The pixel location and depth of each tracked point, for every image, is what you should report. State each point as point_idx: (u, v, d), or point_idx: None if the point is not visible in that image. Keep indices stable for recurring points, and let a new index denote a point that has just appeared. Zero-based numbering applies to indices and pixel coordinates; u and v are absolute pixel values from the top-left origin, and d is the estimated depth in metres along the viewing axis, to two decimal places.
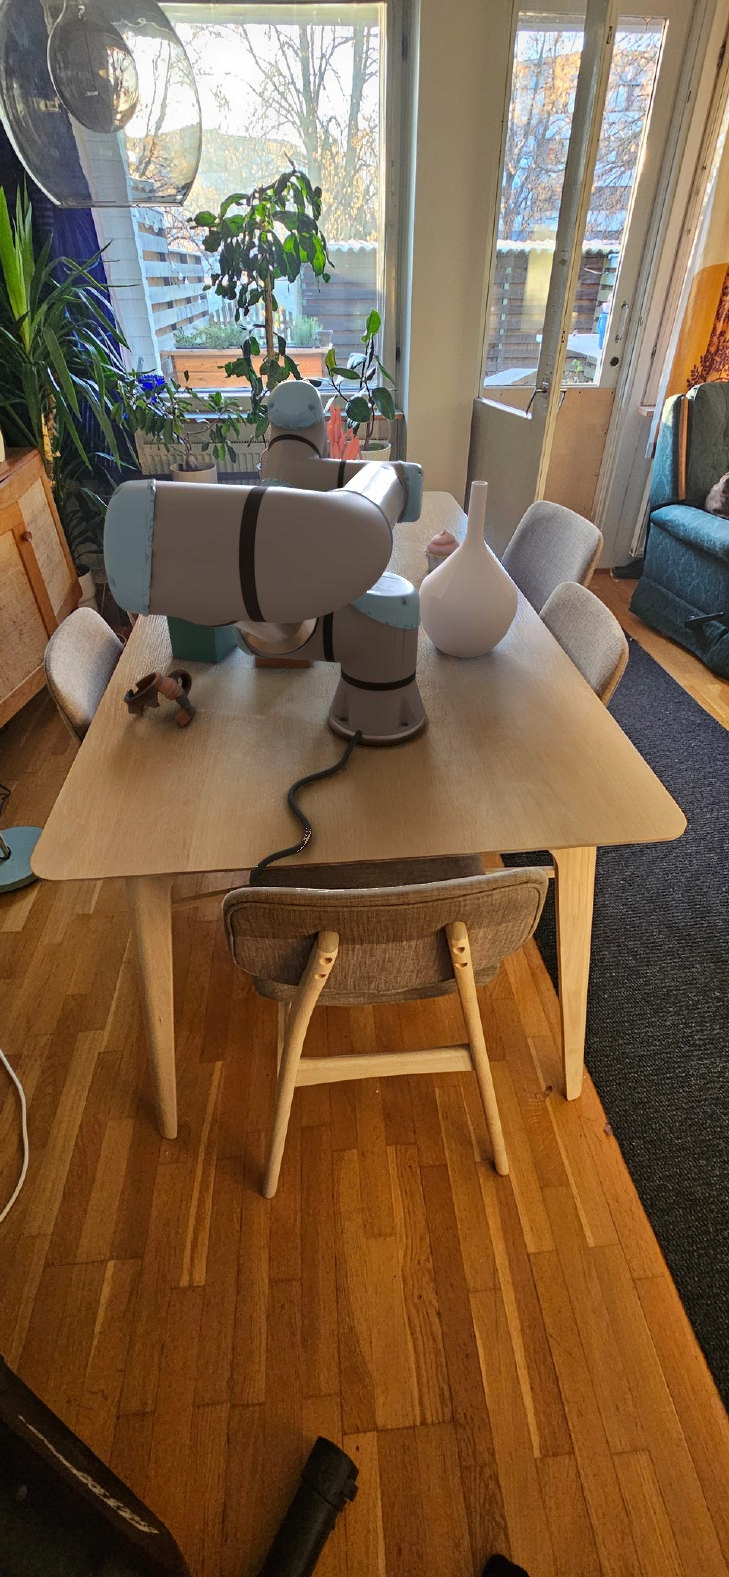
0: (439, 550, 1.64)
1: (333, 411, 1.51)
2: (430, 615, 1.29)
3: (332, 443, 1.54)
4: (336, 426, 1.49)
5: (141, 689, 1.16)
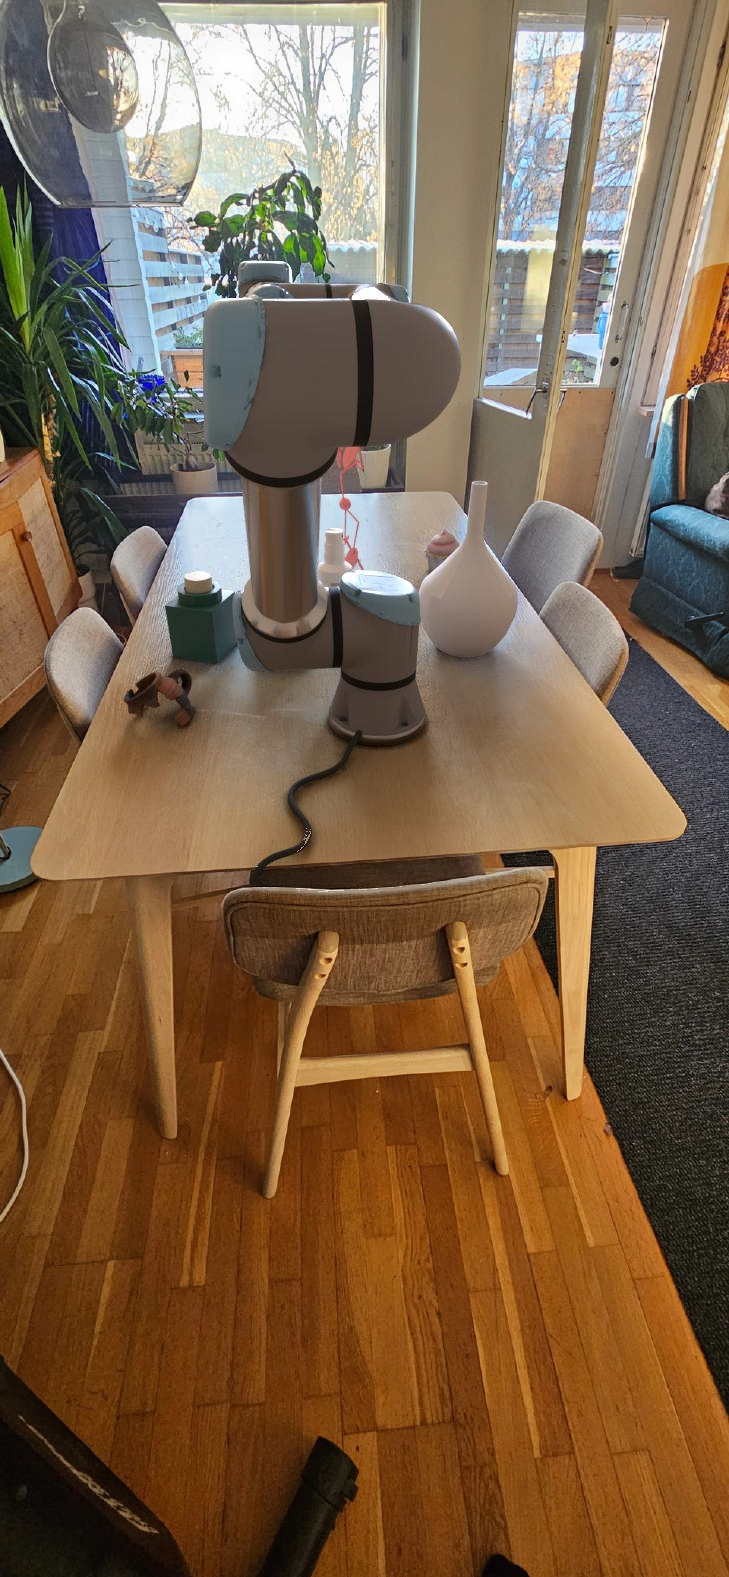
0: (439, 550, 1.64)
1: None
2: (430, 615, 1.29)
3: None
4: None
5: (141, 689, 1.16)
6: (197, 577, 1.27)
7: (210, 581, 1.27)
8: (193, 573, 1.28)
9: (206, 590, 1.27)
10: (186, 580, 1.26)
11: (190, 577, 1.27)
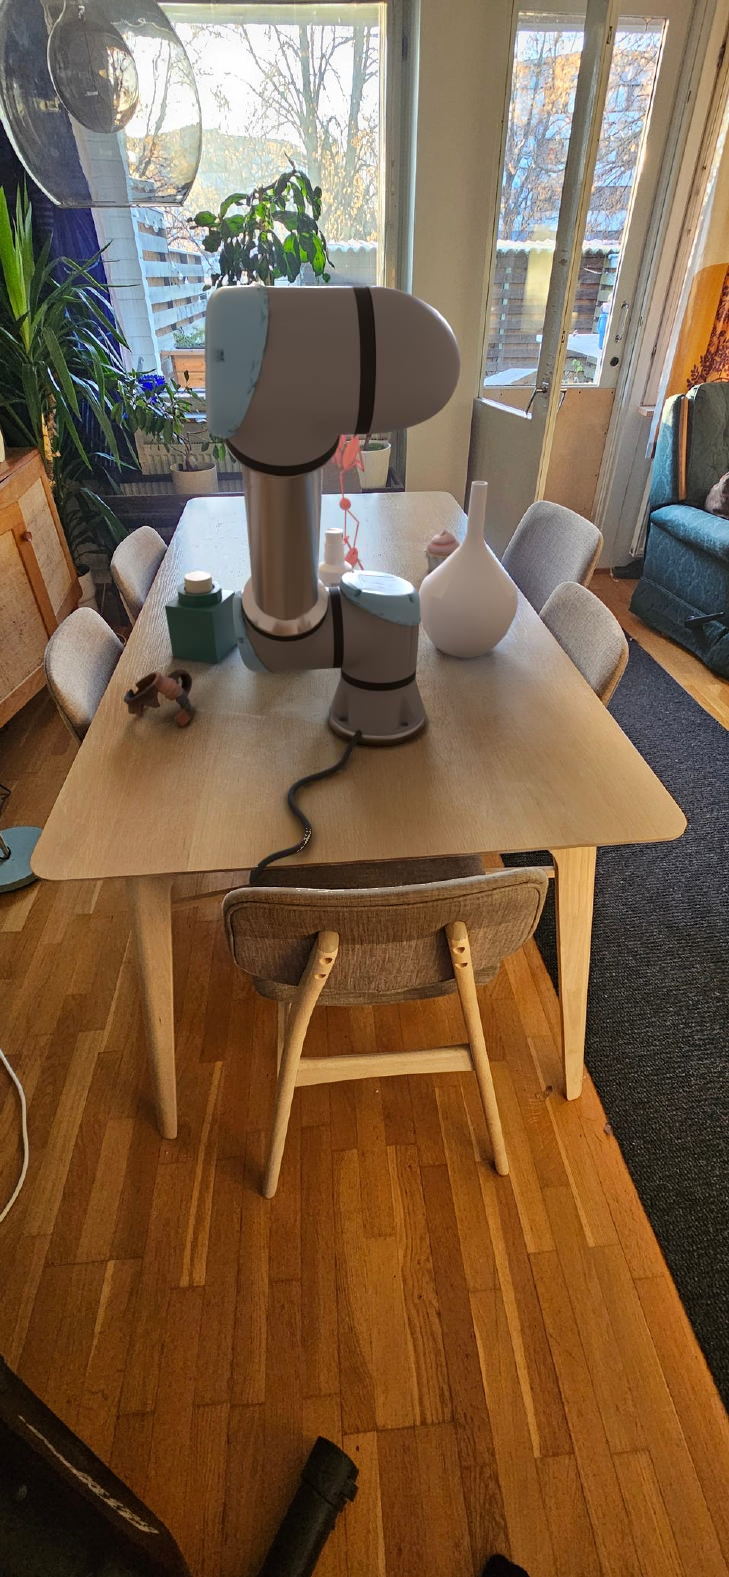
0: (439, 550, 1.64)
1: None
2: (430, 615, 1.29)
3: None
4: None
5: (141, 689, 1.16)
6: (197, 577, 1.27)
7: (210, 581, 1.27)
8: (193, 573, 1.28)
9: (206, 590, 1.27)
10: (186, 580, 1.26)
11: (190, 577, 1.27)
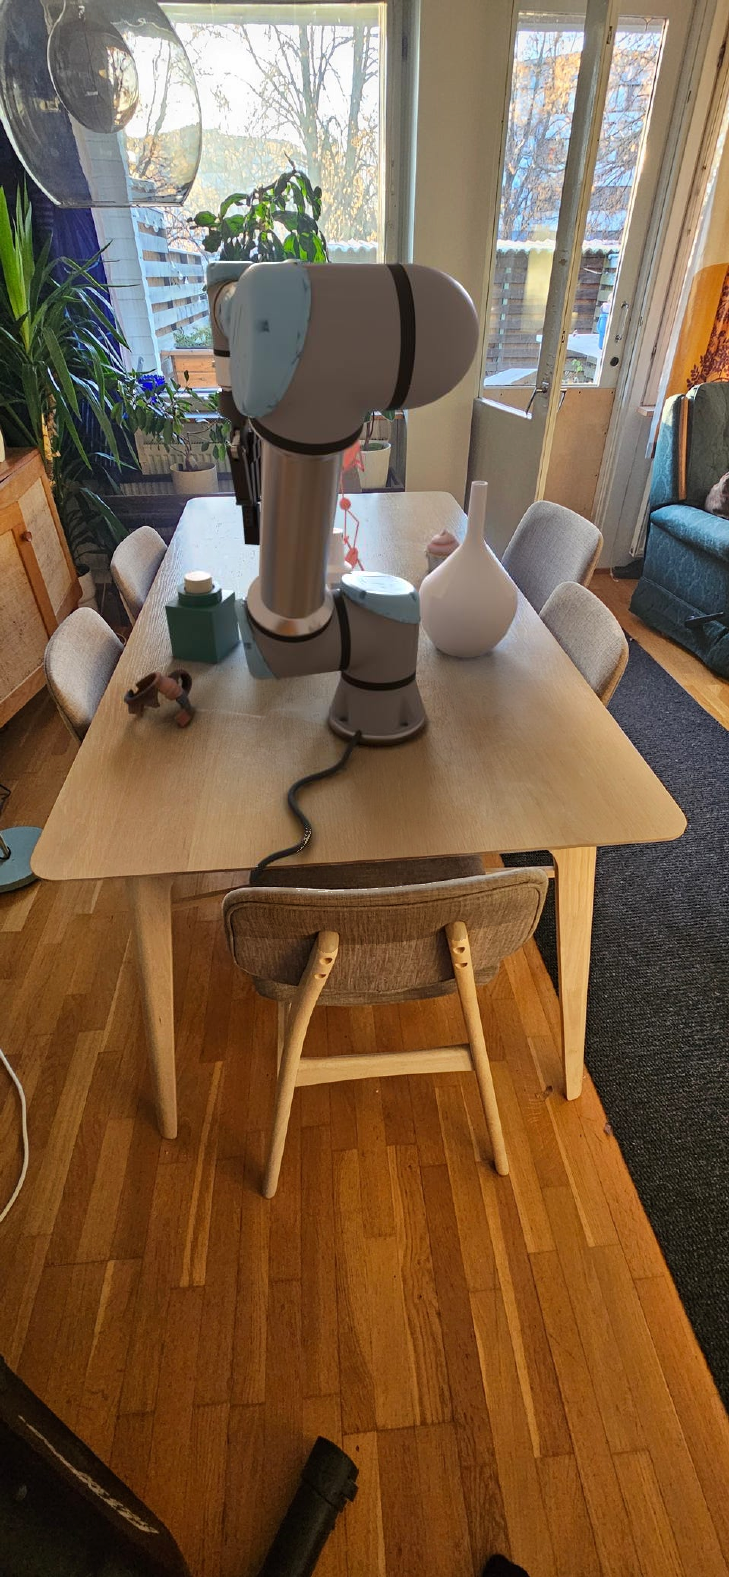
0: (439, 550, 1.64)
1: None
2: (430, 615, 1.29)
3: None
4: None
5: (141, 689, 1.16)
6: (197, 577, 1.27)
7: (210, 581, 1.27)
8: (193, 573, 1.28)
9: (206, 590, 1.27)
10: (186, 580, 1.26)
11: (190, 577, 1.27)
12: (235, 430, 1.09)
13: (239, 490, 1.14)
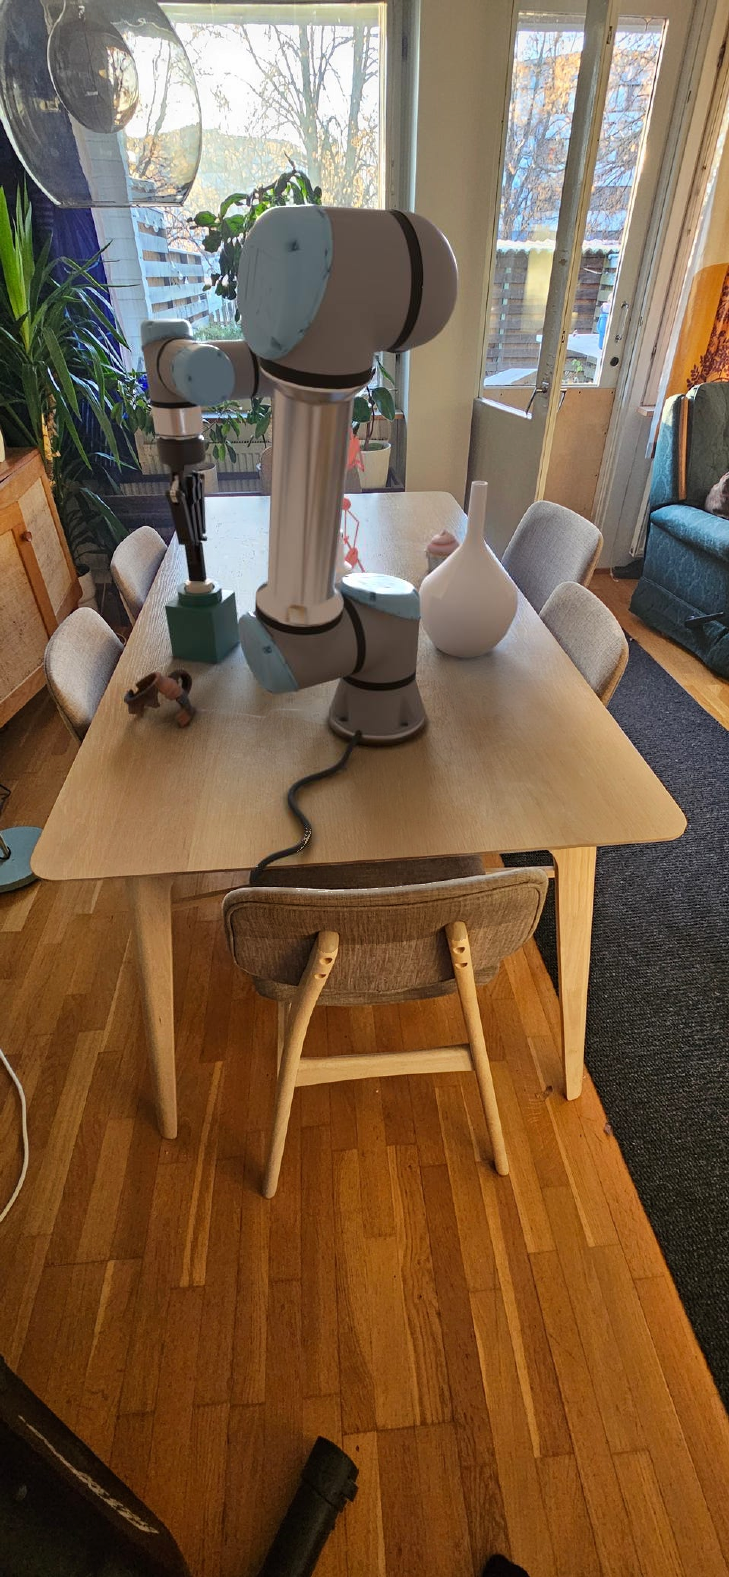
0: (439, 550, 1.64)
1: None
2: (430, 615, 1.29)
3: None
4: None
5: (141, 689, 1.16)
6: (198, 583, 1.27)
7: (211, 586, 1.28)
8: None
9: None
10: (187, 586, 1.27)
11: (191, 582, 1.27)
12: (174, 475, 1.14)
13: (180, 531, 1.19)
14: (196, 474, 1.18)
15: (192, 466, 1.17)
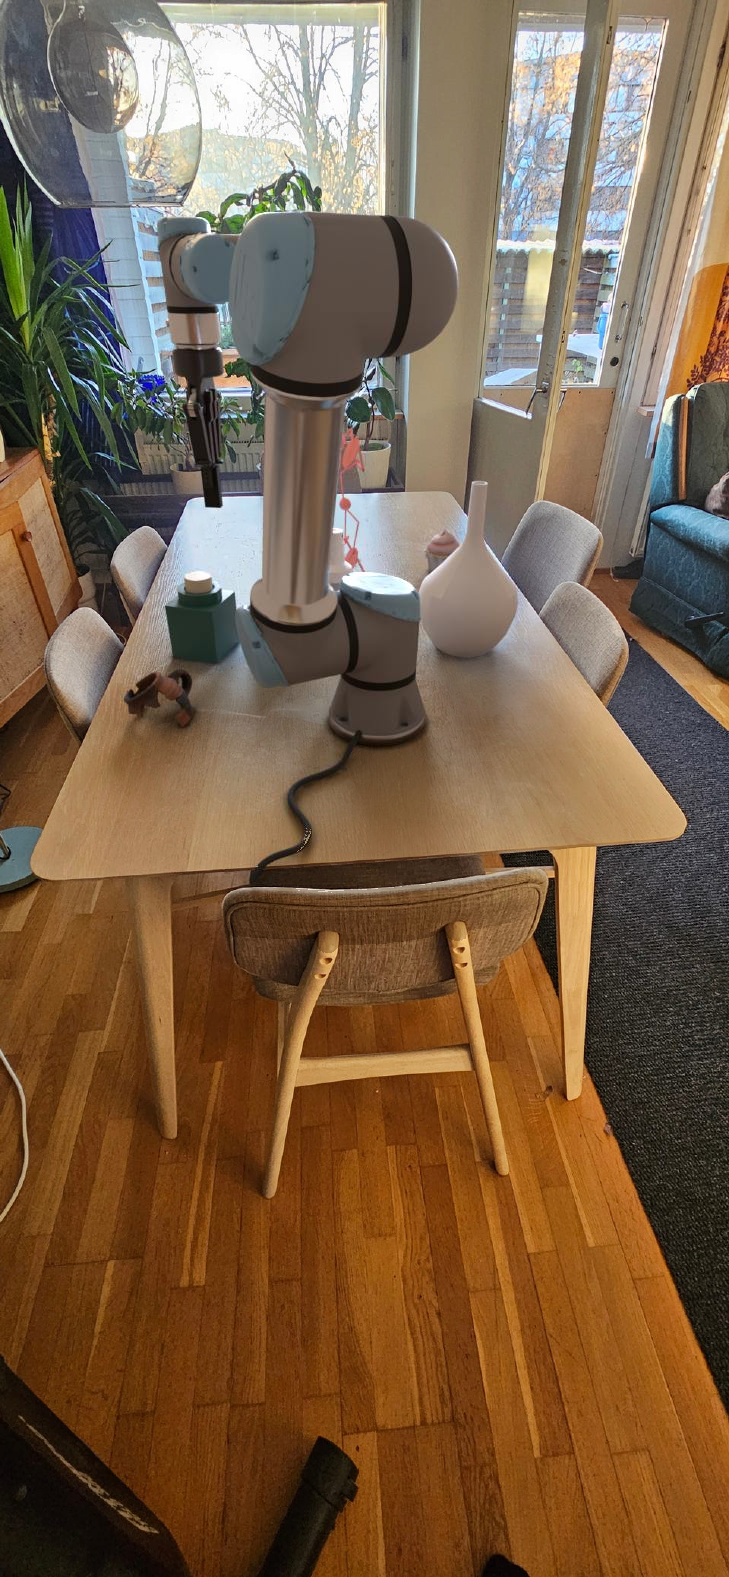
0: (439, 550, 1.64)
1: None
2: (430, 615, 1.29)
3: None
4: None
5: (141, 689, 1.16)
6: (197, 577, 1.27)
7: (210, 581, 1.27)
8: (193, 573, 1.28)
9: (206, 590, 1.27)
10: (186, 580, 1.26)
11: (190, 577, 1.27)
12: (191, 388, 1.10)
13: (197, 450, 1.14)
14: (213, 390, 1.14)
15: (209, 381, 1.13)
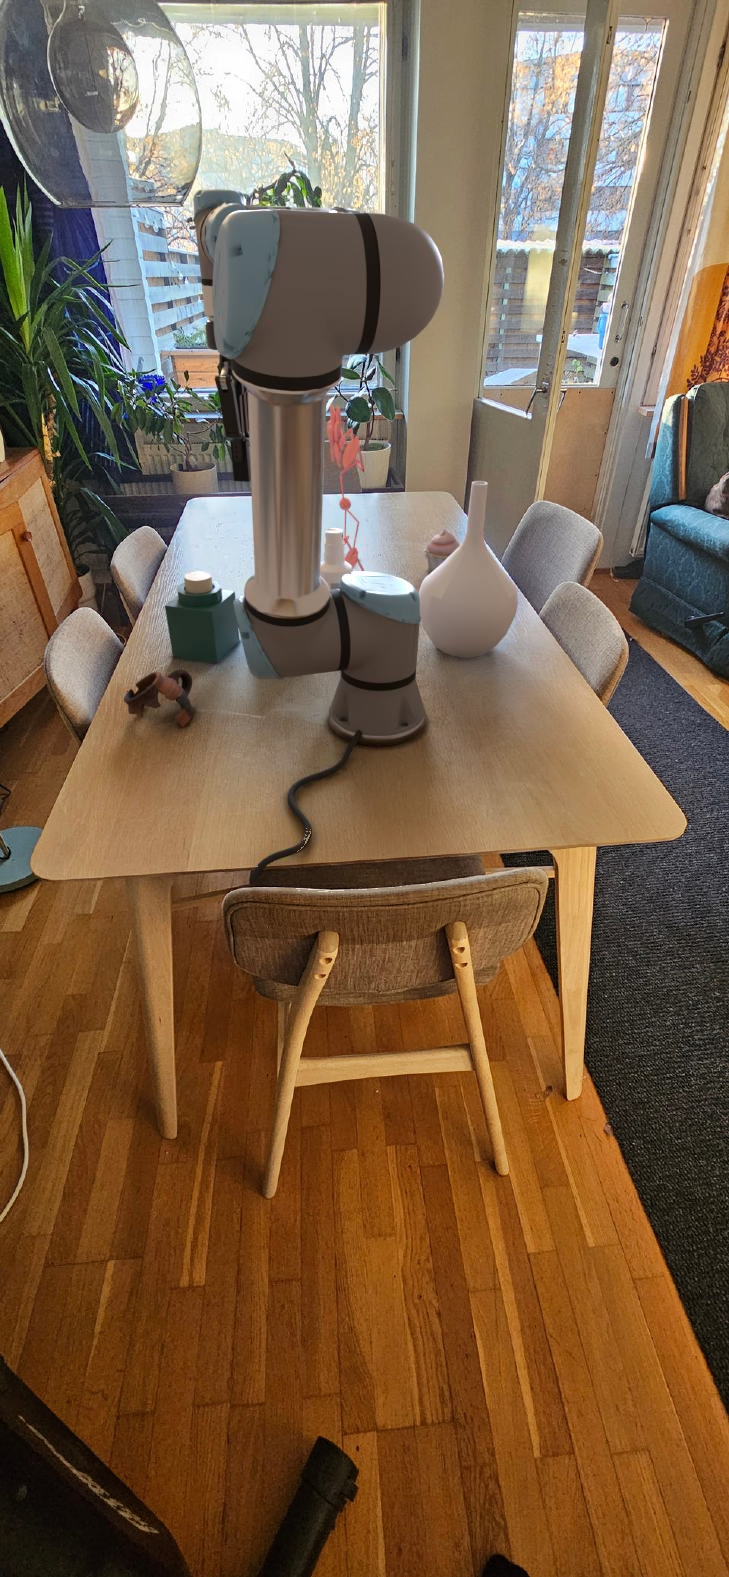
0: (439, 550, 1.64)
1: (333, 411, 1.51)
2: (430, 615, 1.29)
3: (332, 443, 1.54)
4: (336, 426, 1.49)
5: (142, 689, 1.16)
6: (197, 577, 1.27)
7: (210, 581, 1.27)
8: (193, 573, 1.28)
9: (206, 590, 1.27)
10: (186, 580, 1.26)
11: (190, 577, 1.27)
12: (223, 361, 1.12)
13: (228, 423, 1.16)
14: None
15: None
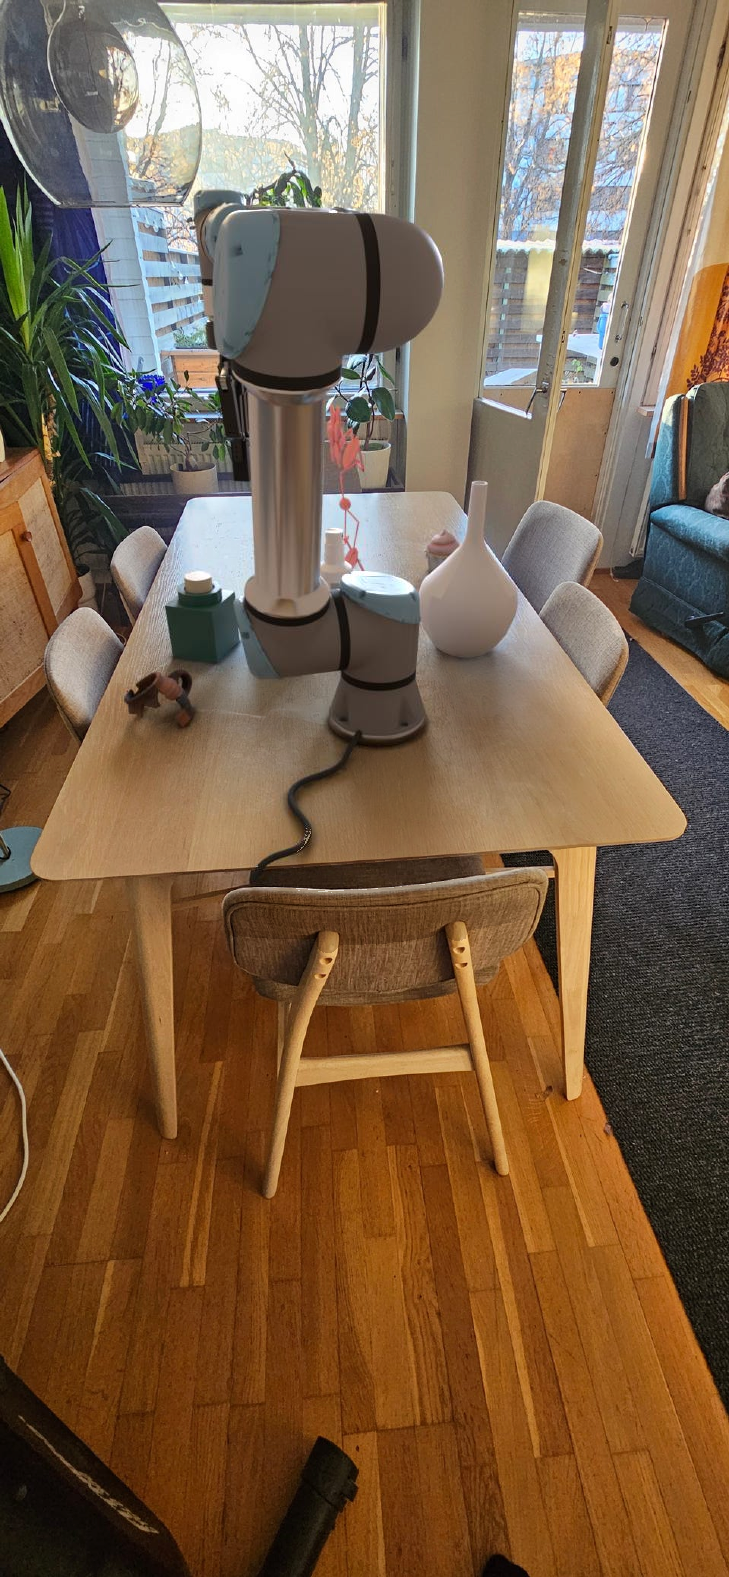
0: (439, 550, 1.64)
1: (333, 411, 1.51)
2: (430, 615, 1.29)
3: (332, 443, 1.54)
4: (336, 426, 1.49)
5: (142, 689, 1.16)
6: (197, 577, 1.27)
7: (210, 581, 1.27)
8: (193, 573, 1.28)
9: (206, 590, 1.27)
10: (186, 580, 1.26)
11: (190, 577, 1.27)
12: (223, 361, 1.12)
13: (228, 423, 1.16)
14: None
15: None
